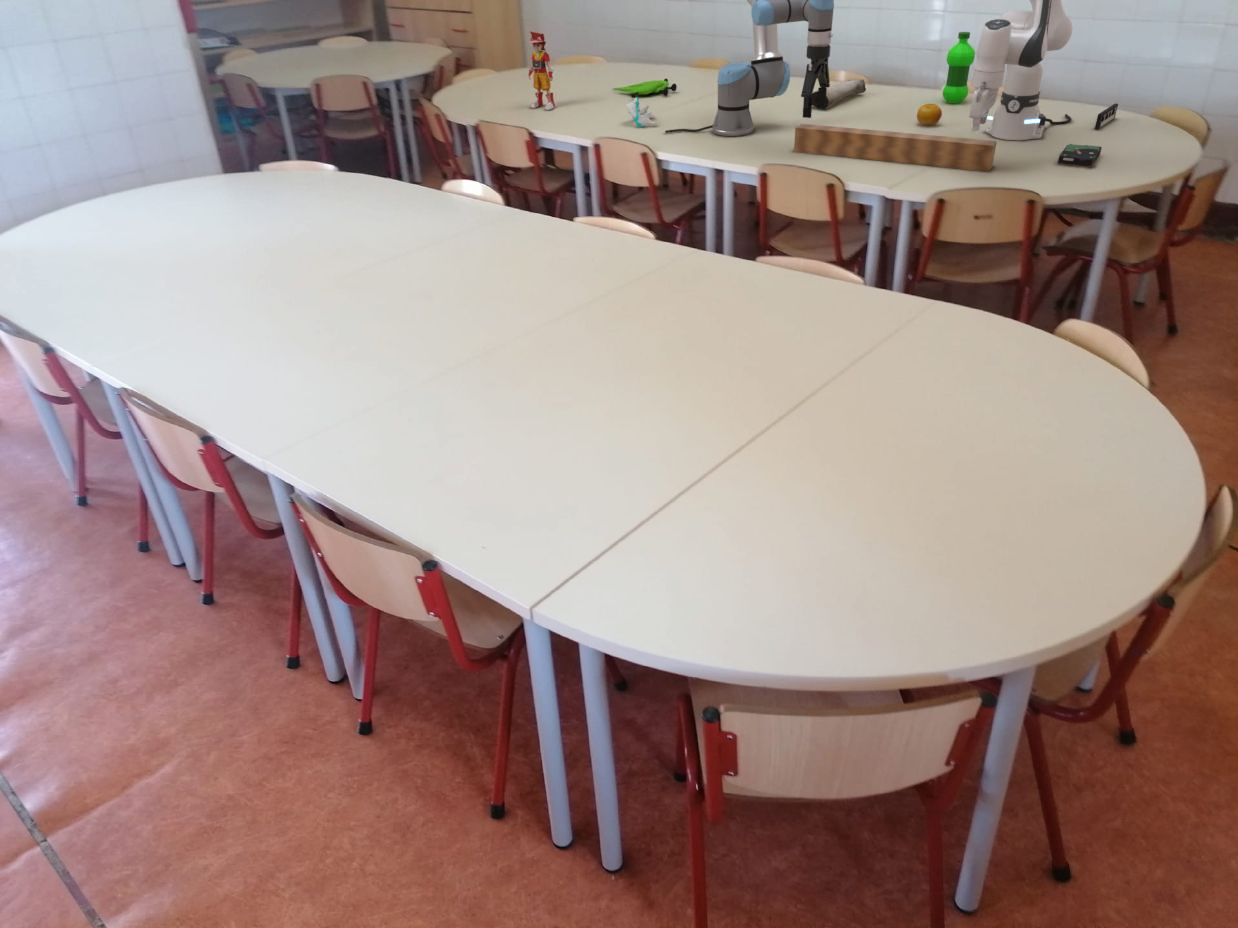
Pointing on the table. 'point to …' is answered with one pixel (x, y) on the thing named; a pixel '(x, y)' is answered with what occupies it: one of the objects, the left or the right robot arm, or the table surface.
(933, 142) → the bar
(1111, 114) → the midi keyboard
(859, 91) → the rolled mat
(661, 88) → the toy
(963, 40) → the plastic bottle
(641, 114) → the anatomical model
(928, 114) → the fruit
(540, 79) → the toy
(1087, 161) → the disk drive
